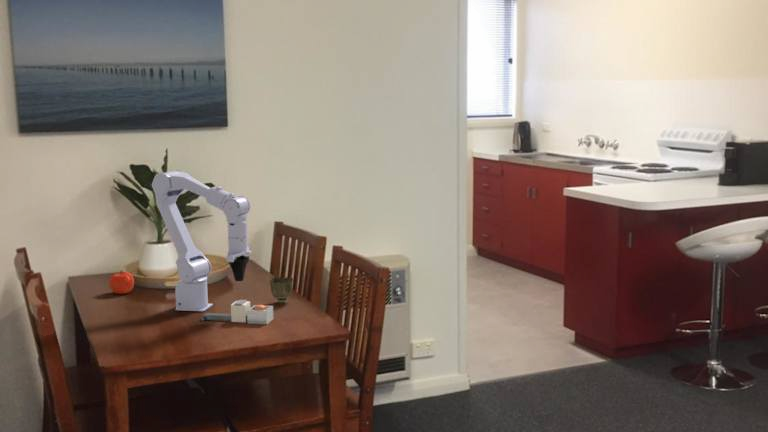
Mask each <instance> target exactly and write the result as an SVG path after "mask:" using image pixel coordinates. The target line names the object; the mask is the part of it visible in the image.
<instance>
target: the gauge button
mask: <svg viewBox="0 0 768 432" xmlns="http://www.w3.org/2000/svg"><path fill="white" fill-rule="evenodd" d="M255 305H256V306H255V310H265V306H266V305H265V304H255Z"/></svg>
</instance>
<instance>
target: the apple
mask: <svg viewBox="0 0 768 432" xmlns="http://www.w3.org/2000/svg"><path fill="white" fill-rule="evenodd" d="M108 284H109V288H110V289H111V291H112V292H113V293H114V294H117V295H124V294H129V293H130V292H131V291H132V290H133V289H134V287H135V286H134V285H135V279H134V276H133V274H131V273H130V272H127V271H124V272H123V271H122V270H120V273H115V274H113V275H111V277H110V278H109V282H108Z"/></svg>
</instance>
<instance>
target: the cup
mask: <svg viewBox="0 0 768 432" xmlns="http://www.w3.org/2000/svg"><path fill="white" fill-rule="evenodd" d="M293 282H294V278H293V277H289V278H288V276H286V277H285V276H283V277H281V276H279V277H277V276H275V277H271V278H270V279H269V285H270V291H271V296H272V297H274V298H275V301H276V303H277V304H278V305H279V304H280V305H284V304H287V303H288V298H290V297H291V296H292V293H293V285H294V284H293Z"/></svg>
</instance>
